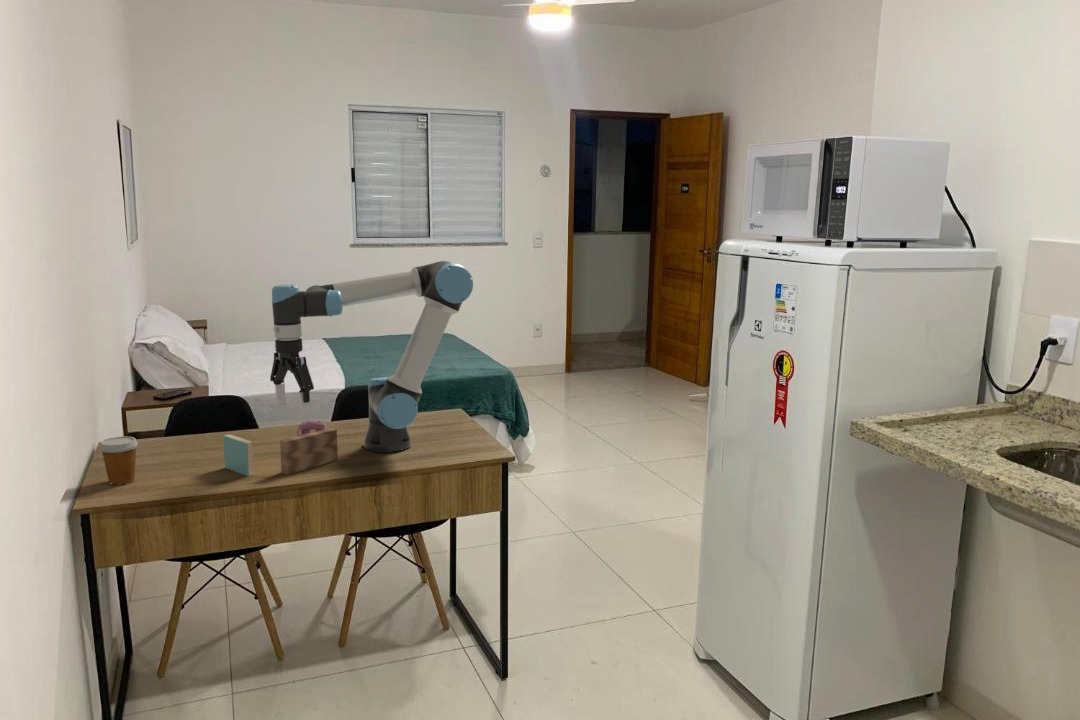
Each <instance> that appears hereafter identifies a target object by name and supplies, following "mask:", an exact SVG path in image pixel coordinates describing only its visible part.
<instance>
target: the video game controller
mask: <svg viewBox="0 0 1080 720" xmlns="http://www.w3.org/2000/svg"><path fill="white" fill-rule="evenodd" d="M324 429H328V426H327V424H326V423H324V422H323V421H320V420H307V421H305V422H301V423H300V424H299V425H298V427H297V431H296V432H297V434H296V436H299V435H303V434H307V433H312V432H311V430H314V432H316V431H320V430H324Z"/></svg>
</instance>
